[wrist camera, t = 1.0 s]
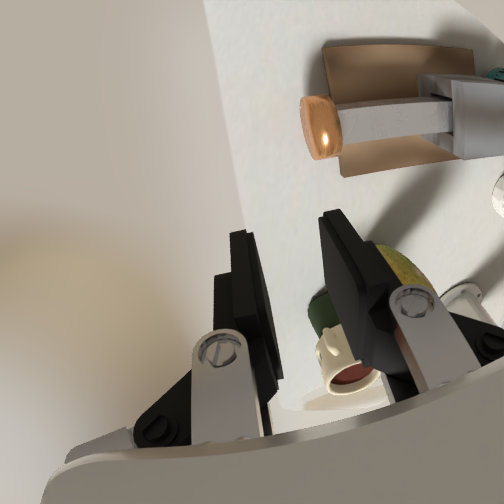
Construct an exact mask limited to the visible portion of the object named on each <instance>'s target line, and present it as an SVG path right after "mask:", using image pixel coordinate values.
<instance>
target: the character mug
mask: <svg viewBox="0 0 504 504" xmlns="http://www.w3.org/2000/svg"><path fill="white" fill-rule="evenodd" d="M308 317H309V319H310V321H311V324H312V326H313V328H314V330H315V332H316V333H317V335H318V337H319V341H318V343H317V345H316V356H317V358H318V361H319V363H320V366H321V374H322V376H323V379H324V383H325V386H326V389H327V391H328V392H329V393H331V394H335V395H347V394H351V393H356V392H358V391H361V390H363V389H366V388H367V387H369V386H370V385H371V384H373V383H375V382H376V380H377V379H378V378H379V377H380V371H378V370H375V369H373V368H371V367H368V368H363V365H362V362H361V360H357V361H355V359H354V357H353V354H352V352H351V349H350V346H349V344H348V341H347V339H346V336H345V333H344V331H343V328H342V326H341V323H340V321H339V318H338V315H337V313H336V310H335V308H334V305H333V303H332V300H331V298H330V296H329V293H327V294H325V295H322V296H320V297H318V298H317V299H315V300H314V301H312V302H311V304H310V306H309V308H308Z"/></svg>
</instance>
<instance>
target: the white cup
mask: <svg viewBox="0 0 504 504" xmlns="http://www.w3.org/2000/svg"><path fill="white" fill-rule="evenodd" d="M492 205H493V207H494V209H495V211H496V212H497V213H499V214H500V215H501V216H502V217H503V218H504V175H503V176H502V177H501V178H500V179H499V180H498V182H497V183H496V185H495V187H494V191H493V194H492Z"/></svg>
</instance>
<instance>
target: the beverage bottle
mask: <svg viewBox="0 0 504 504" xmlns="http://www.w3.org/2000/svg"><path fill="white" fill-rule="evenodd" d="M487 78H488V79H492V80H496V81H500V82H504V68H503V69H502V68H499V67H498V68H496V69H493V70H491V71H490V72H489V74H488V76H487Z"/></svg>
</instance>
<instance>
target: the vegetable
mask: <svg viewBox="0 0 504 504" xmlns="http://www.w3.org/2000/svg"><path fill="white" fill-rule="evenodd" d="M375 245H376V247H377V248H378V250H379V251H380V252H381V254H382V255H383V257H384V258H385V259H386V261H387V262H388V264H389V265H390V267H391V268H392V269H393V271H394V272H395V274H396V275H397V277H398V278H399V280H400V281H401V283H402V284H403V286H404V285H408V284H418V285H422V286H426V287H428V288H430V289H431V290H433V291H434V292H435V293H436V291H435V289H434V288H433V286H432V284H431V283H430V282H429V280H428V279H427V278H426V276H425V275H424V274H423V273H422V272H421V271H420V270H419V269H418V268H417V267H416V265H414V264H413V263H412V262H411V261H410V260H409V259H408V258H406V257H405V256H404V255H402V254H401V253H399V252H398V251H396V250H395V249H393V248H391V247H388V246H386V245H380V244H375ZM436 294H437V293H436Z"/></svg>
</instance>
